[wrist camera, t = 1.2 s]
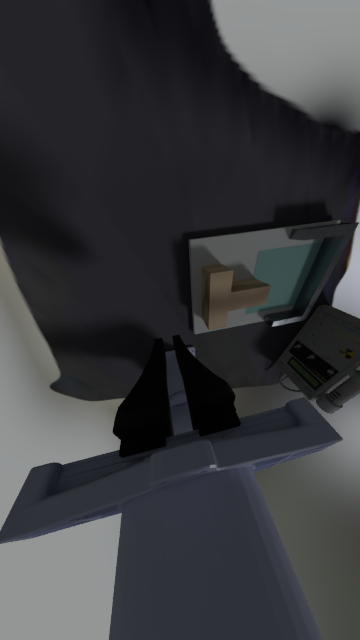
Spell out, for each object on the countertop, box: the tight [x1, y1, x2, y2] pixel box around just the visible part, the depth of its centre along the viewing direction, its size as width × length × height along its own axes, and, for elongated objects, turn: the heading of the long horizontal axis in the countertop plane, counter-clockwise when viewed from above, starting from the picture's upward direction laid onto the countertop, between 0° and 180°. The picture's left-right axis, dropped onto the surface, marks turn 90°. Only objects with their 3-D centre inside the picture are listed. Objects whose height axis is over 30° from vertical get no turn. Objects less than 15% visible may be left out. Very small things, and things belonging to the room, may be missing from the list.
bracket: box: [263, 223, 359, 327], centre depth 22 cm, size 15×7×2 cm, turn 6°
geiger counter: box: [275, 305, 360, 414], centre depth 31 cm, size 14×6×25 cm
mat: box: [188, 220, 341, 334], centre depth 23 cm, size 16×22×1 cm
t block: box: [202, 264, 271, 330], centre depth 21 cm, size 9×9×4 cm
